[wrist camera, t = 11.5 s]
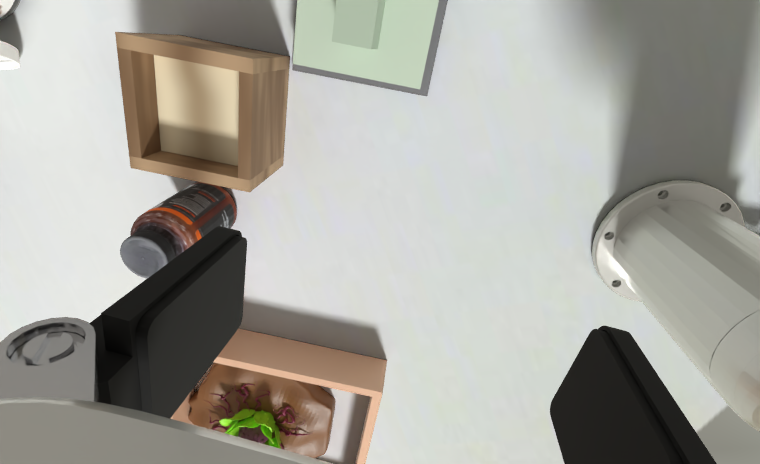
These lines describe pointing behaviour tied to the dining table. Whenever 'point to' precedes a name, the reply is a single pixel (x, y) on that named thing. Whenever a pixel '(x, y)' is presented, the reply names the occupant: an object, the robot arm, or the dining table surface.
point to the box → (203, 108)
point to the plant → (264, 409)
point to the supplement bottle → (176, 226)
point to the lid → (366, 38)
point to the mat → (421, 91)
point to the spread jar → (3, 55)
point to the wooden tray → (305, 371)
